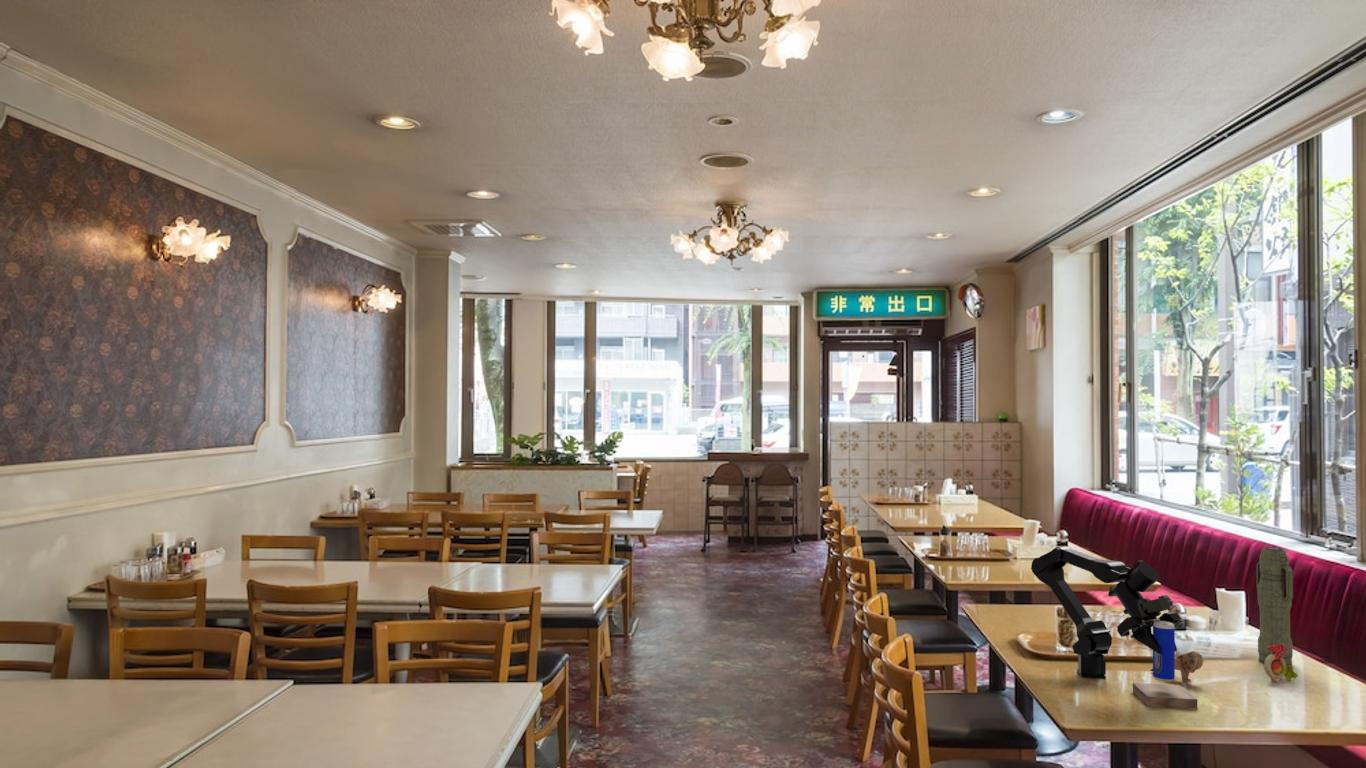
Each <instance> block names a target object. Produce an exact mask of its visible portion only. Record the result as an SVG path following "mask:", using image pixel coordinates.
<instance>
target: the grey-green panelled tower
mask: <svg viewBox="0 0 1366 768" xmlns="http://www.w3.org/2000/svg"><path fill="white" fill-rule="evenodd" d="M1289 563H1290V560H1289V556H1288V554H1287V551H1286V550H1285V549H1283V548H1281V547H1275V546H1266V547H1263V548H1262V549H1261V552H1260V555H1259V560H1258V561H1257V562H1256V564H1255V575H1256V576H1255V580H1256V581H1255V582H1256V583H1255V585H1256V593H1257V604H1258V606H1259V635H1258V639H1257V652H1258V662H1260V663H1262V664H1265V660H1266V658H1267V656H1268V655H1270V654H1271V653H1272V651H1270V650H1269V649H1268V647H1267V646H1268V645H1270V646H1271V645H1273V644H1275V645H1277V644H1281V643H1283V644H1284V647H1285V648H1287V652H1285V653H1284V654H1281V656H1282V657H1283V659H1284V661H1285V663H1286V666H1289V665H1291V666H1293V655H1294V654H1293V652H1294V651H1293V648H1294V647H1293V641H1292V638H1291V608H1292V606H1293V605H1292V604H1293V603H1292V600H1293V599H1294V589H1293V588H1294V571H1293V569H1292V567H1291V566H1289V565H1290V564H1289ZM1273 661H1275V660H1273ZM1277 662H1278V661H1277Z"/></svg>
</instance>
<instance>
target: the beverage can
mask: <svg viewBox="0 0 1366 768" xmlns="http://www.w3.org/2000/svg"><path fill="white" fill-rule="evenodd" d="M1175 633H1176V628H1175V626H1174V624H1173V623H1171V622H1167V621H1154V624H1153V627H1152V634H1153V636H1154V638H1155V639H1156V641H1157V643H1158V644H1159V646H1160V648H1161V650H1162V653H1161V654H1158V653H1157V652H1155V651H1154V650H1152V669H1153V671H1152V676H1153V678H1154V679H1155V680H1157V681H1160V682H1173V681H1174V680H1175V677H1176V676H1175V657H1176V655H1175V652H1176V651H1175V644H1176V640H1175V638H1176V637H1175V635H1176V634H1175Z"/></svg>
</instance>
